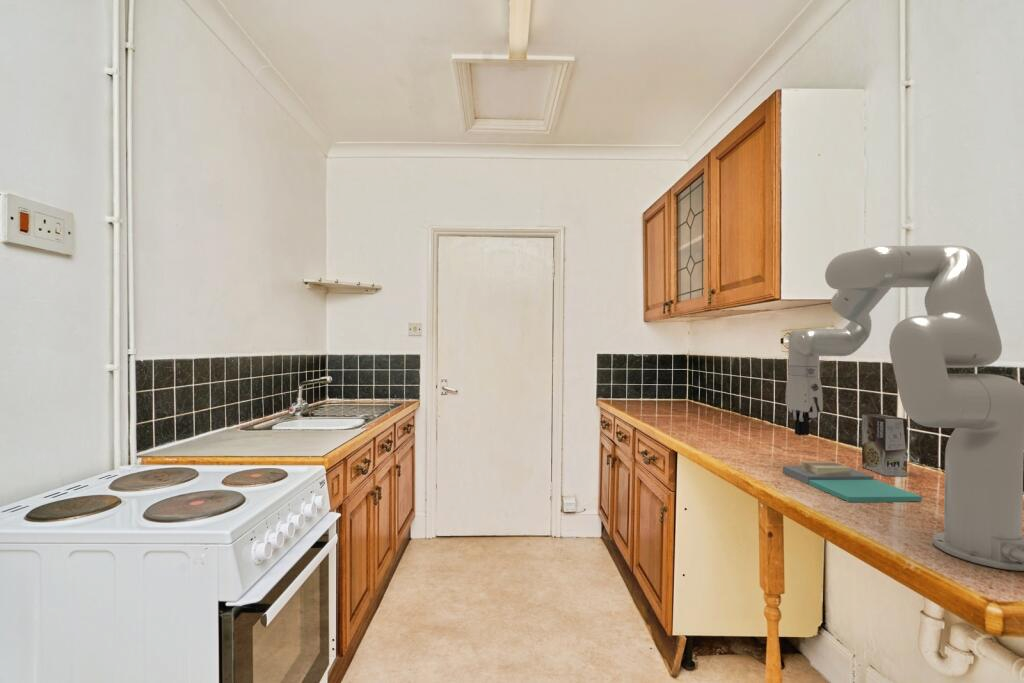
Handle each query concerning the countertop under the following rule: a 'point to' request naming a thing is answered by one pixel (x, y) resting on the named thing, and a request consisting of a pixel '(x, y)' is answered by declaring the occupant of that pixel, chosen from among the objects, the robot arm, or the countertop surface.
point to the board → (806, 476)
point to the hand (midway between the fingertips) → (801, 434)
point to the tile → (826, 468)
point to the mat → (864, 491)
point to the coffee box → (884, 444)
